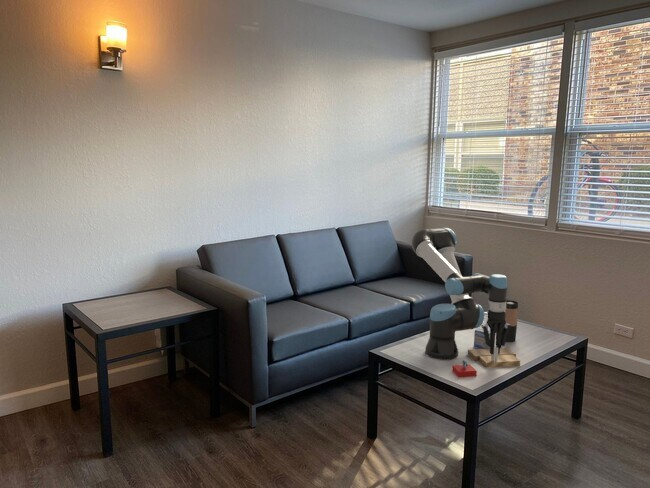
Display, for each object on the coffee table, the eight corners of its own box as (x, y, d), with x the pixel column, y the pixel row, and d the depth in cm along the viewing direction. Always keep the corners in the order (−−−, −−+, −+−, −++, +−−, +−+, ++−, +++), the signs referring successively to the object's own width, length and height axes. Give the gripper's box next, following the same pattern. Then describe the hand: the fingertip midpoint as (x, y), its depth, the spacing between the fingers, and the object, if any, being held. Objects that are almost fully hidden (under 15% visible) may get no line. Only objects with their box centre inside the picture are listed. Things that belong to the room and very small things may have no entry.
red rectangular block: (469, 370, 225) (470, 356, 224) (476, 376, 218) (477, 362, 217) (452, 371, 223) (452, 357, 222) (458, 378, 217) (459, 364, 216)
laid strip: (474, 361, 234) (474, 356, 234) (467, 354, 242) (467, 349, 241) (515, 358, 236) (516, 353, 236) (507, 352, 244) (507, 347, 244)
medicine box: (473, 346, 252) (474, 330, 250) (477, 344, 255) (478, 327, 253) (488, 350, 246) (489, 333, 245) (492, 348, 249) (493, 331, 248)
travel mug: (518, 342, 257) (520, 304, 253) (502, 342, 257) (505, 304, 253) (512, 337, 264) (515, 300, 261) (498, 337, 264) (500, 300, 261)
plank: (485, 367, 227) (486, 362, 226) (479, 361, 234) (479, 356, 233) (519, 365, 229) (520, 360, 228) (512, 359, 236) (512, 354, 235)
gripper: (486, 313, 219) (483, 364, 223) (515, 311, 221) (512, 363, 225) (478, 308, 227) (476, 358, 231) (507, 306, 228) (504, 356, 232)
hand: (494, 360), depth 228 cm, fingers closed
